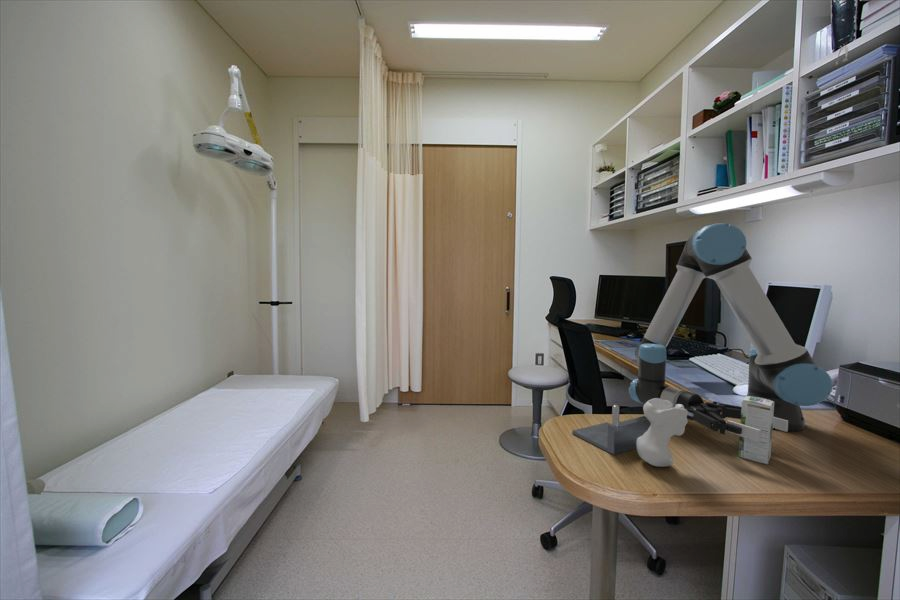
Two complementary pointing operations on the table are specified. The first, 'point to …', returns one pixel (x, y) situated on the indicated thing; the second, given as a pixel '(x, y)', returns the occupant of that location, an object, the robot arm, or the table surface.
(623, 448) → the grey piece
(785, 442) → the table surface
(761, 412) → the syrup box
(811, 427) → the table surface
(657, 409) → the white sculpture
